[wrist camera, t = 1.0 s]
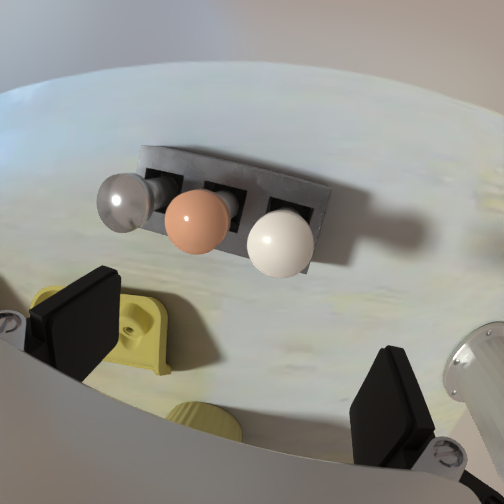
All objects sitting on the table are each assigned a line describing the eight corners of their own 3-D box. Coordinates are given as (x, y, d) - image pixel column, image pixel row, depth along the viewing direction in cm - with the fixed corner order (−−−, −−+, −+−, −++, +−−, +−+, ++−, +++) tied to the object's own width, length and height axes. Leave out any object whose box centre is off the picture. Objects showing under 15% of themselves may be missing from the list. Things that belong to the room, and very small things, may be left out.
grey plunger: (190, 173, 30) (150, 180, 22) (181, 217, 31) (141, 239, 23) (149, 164, 30) (100, 169, 22) (142, 207, 31) (94, 225, 23)
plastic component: (162, 298, 35) (157, 385, 33) (180, 299, 42) (175, 373, 40) (31, 281, 36) (28, 353, 34) (60, 285, 43) (57, 349, 42)
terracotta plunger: (252, 188, 29) (231, 199, 21) (241, 233, 30) (218, 261, 22) (206, 176, 29) (170, 184, 21) (197, 221, 31) (160, 245, 23)
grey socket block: (328, 185, 31) (331, 189, 27) (306, 260, 33) (306, 274, 30) (158, 145, 32) (141, 145, 28) (146, 217, 35) (128, 224, 31)
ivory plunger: (316, 205, 29) (321, 223, 21) (303, 250, 30) (303, 285, 22) (269, 192, 29) (255, 205, 21) (257, 238, 30) (240, 268, 22)
